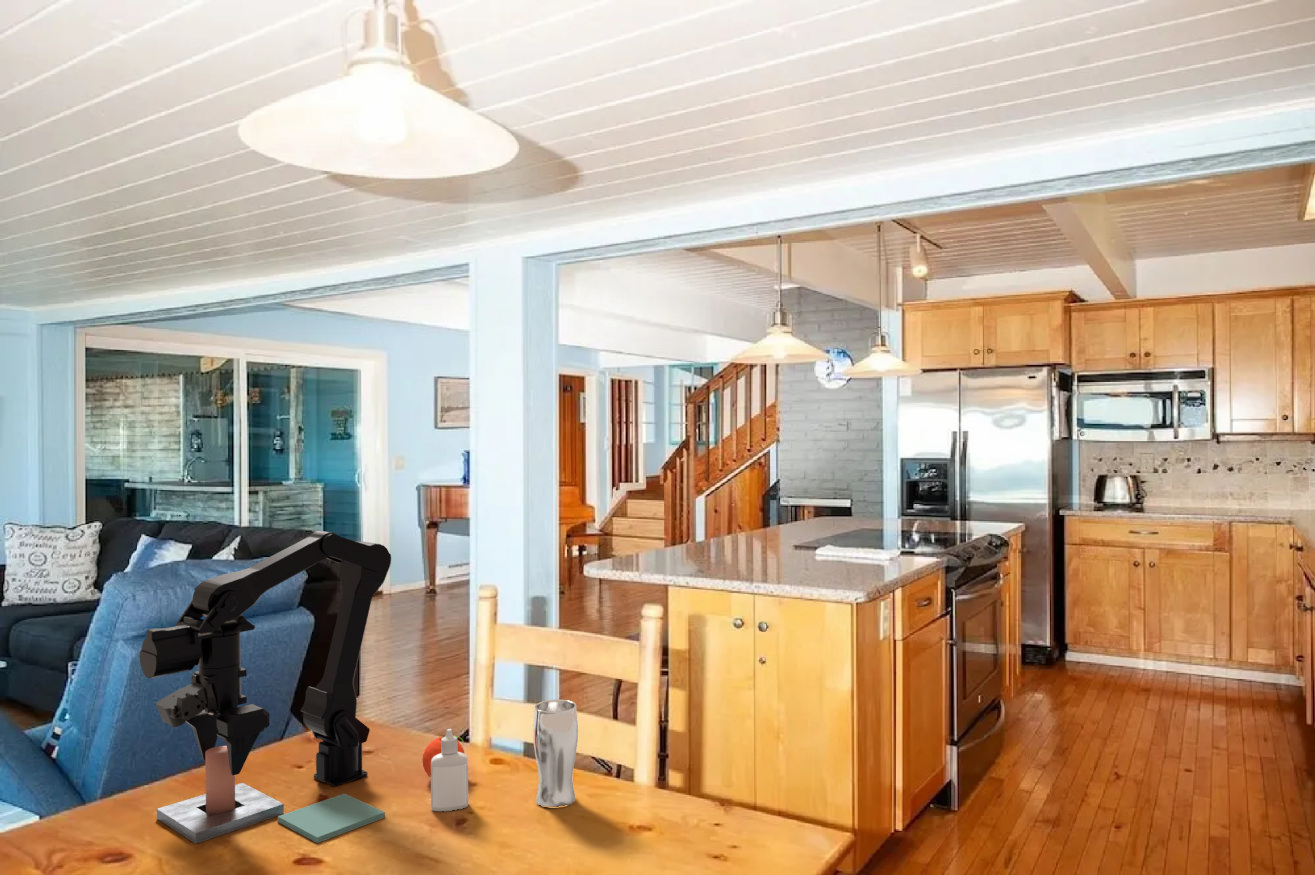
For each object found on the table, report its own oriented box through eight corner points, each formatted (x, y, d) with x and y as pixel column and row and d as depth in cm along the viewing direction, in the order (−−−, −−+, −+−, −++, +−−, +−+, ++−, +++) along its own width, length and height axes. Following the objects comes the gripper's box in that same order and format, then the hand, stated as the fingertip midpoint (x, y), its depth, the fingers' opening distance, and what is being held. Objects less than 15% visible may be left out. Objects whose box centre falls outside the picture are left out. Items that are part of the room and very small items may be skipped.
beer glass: (525, 806, 142) (524, 709, 141) (547, 789, 148) (546, 697, 148) (565, 813, 139) (564, 714, 139) (585, 796, 145) (585, 702, 145)
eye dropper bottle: (459, 815, 138) (459, 736, 138) (426, 811, 140) (425, 732, 140) (472, 803, 143) (472, 726, 143) (440, 799, 144) (439, 723, 144)
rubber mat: (344, 798, 145) (344, 793, 145) (384, 817, 138) (384, 812, 138) (277, 821, 136) (277, 816, 136) (317, 843, 129) (317, 837, 129)
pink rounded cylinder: (227, 808, 141) (227, 744, 141) (240, 815, 138) (239, 749, 138) (201, 817, 138) (200, 751, 138) (213, 824, 135) (212, 757, 135)
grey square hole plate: (242, 792, 147) (242, 782, 147) (283, 813, 139) (283, 804, 139) (156, 819, 137) (156, 809, 137) (195, 844, 129) (195, 833, 129)
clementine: (450, 766, 158) (450, 725, 158) (478, 775, 154) (478, 733, 154) (413, 781, 152) (413, 738, 152) (441, 790, 148) (441, 746, 148)
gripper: (137, 664, 138) (138, 768, 138) (192, 687, 126) (193, 800, 126) (212, 650, 146) (213, 748, 146) (270, 670, 134) (271, 776, 135)
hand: (221, 767), depth 138 cm, fingers open, 9 cm apart
